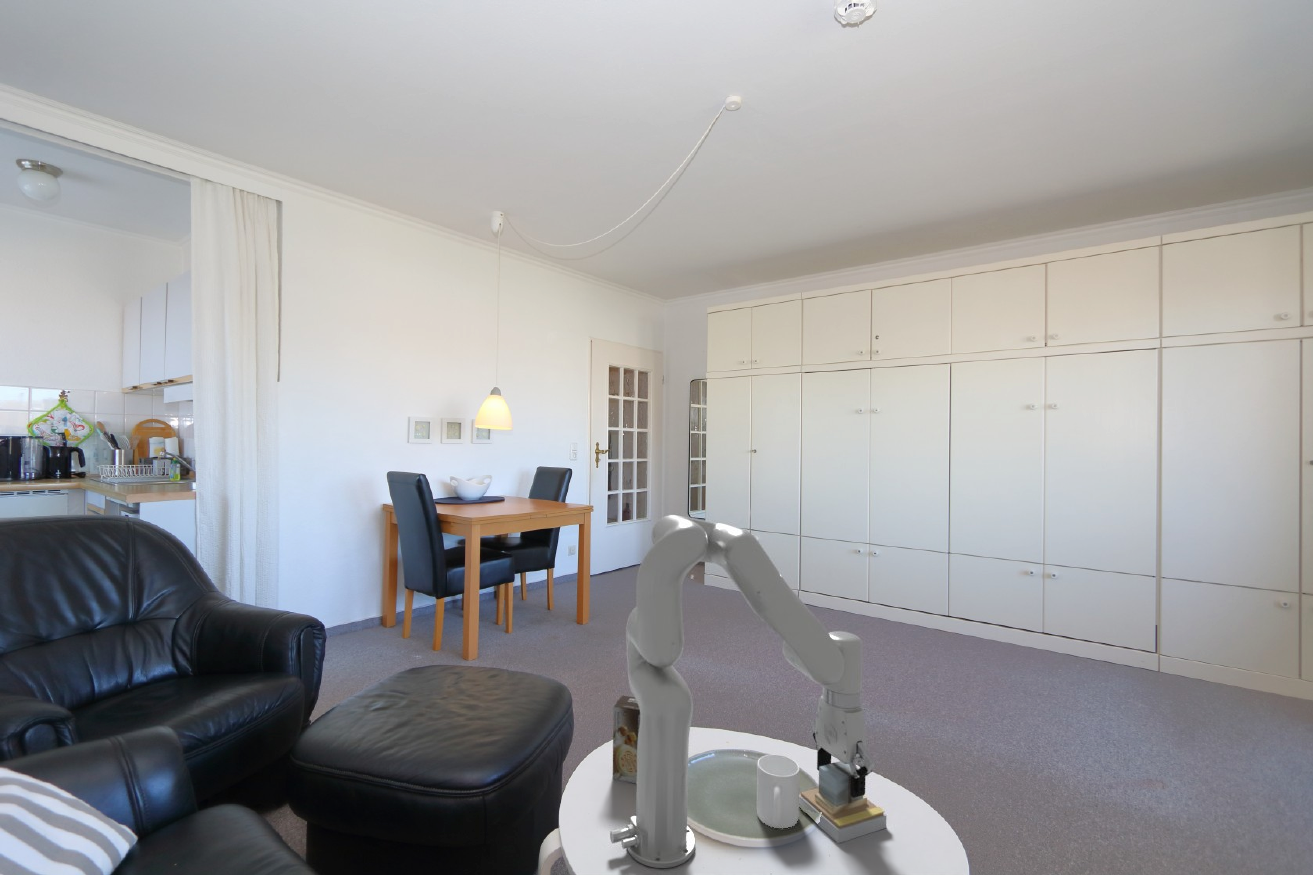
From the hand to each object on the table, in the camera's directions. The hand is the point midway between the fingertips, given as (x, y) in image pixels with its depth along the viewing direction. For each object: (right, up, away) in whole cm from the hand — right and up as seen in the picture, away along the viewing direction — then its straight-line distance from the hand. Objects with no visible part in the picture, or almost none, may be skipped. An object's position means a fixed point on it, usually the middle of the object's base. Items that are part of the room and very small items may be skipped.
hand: (840, 781), depth 115 cm
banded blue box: (0, -4, 0) cm, 4 cm away
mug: (-13, -7, -2) cm, 15 cm away
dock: (0, -7, 0) cm, 7 cm away
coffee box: (-42, -7, +13) cm, 44 cm away
